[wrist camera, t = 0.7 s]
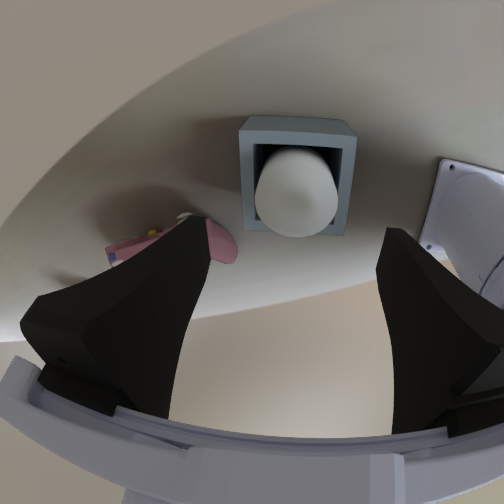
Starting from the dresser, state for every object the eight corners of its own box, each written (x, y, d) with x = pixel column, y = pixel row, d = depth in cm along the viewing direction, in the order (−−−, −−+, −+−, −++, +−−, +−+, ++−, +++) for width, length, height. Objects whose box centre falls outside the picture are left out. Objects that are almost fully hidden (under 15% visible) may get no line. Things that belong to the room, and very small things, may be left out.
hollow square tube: (343, 120, 17) (357, 136, 13) (335, 201, 20) (343, 235, 17) (250, 115, 17) (238, 130, 14) (252, 196, 21) (243, 229, 17)
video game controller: (231, 203, 23) (191, 207, 17) (245, 258, 24) (211, 282, 17) (138, 231, 26) (86, 243, 20) (150, 277, 27) (102, 299, 20)
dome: (333, 145, 15) (344, 170, 12) (327, 207, 17) (333, 245, 14) (261, 141, 16) (252, 165, 12) (262, 204, 18) (254, 240, 15)
